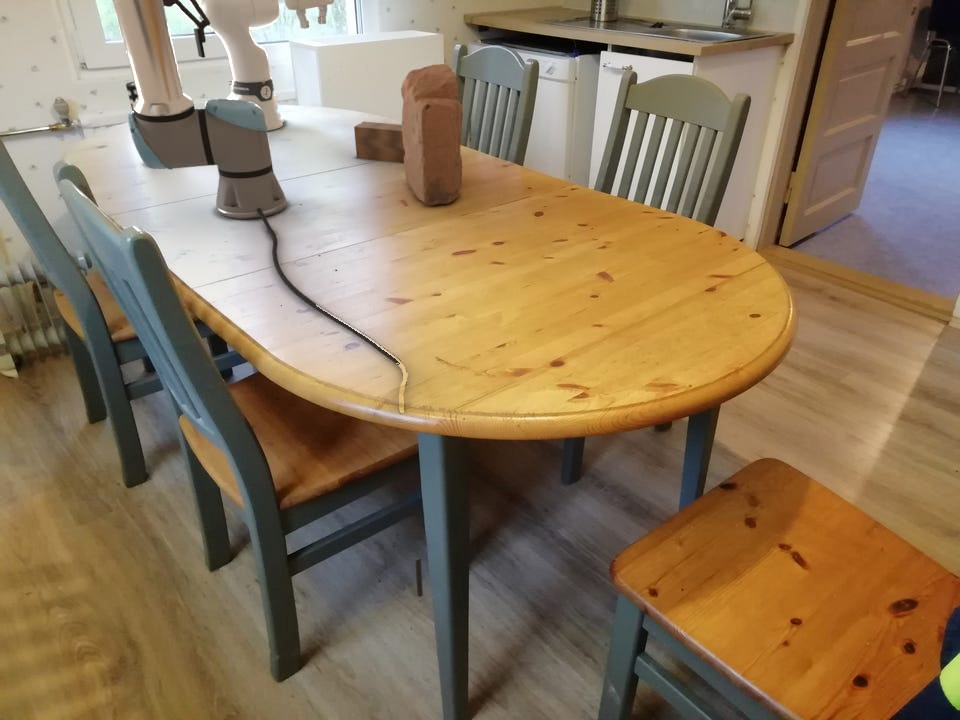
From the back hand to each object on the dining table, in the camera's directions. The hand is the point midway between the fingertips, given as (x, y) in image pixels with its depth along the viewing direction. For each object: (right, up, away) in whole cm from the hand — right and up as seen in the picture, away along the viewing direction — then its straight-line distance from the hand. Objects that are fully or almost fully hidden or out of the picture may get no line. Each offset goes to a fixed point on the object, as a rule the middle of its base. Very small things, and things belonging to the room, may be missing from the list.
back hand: (313, 26), depth 186 cm
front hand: (-33, -14, -11) cm, 37 cm away
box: (+23, -34, +5) cm, 42 cm away
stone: (+34, -49, -17) cm, 62 cm away
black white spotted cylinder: (-41, -28, -5) cm, 50 cm away
